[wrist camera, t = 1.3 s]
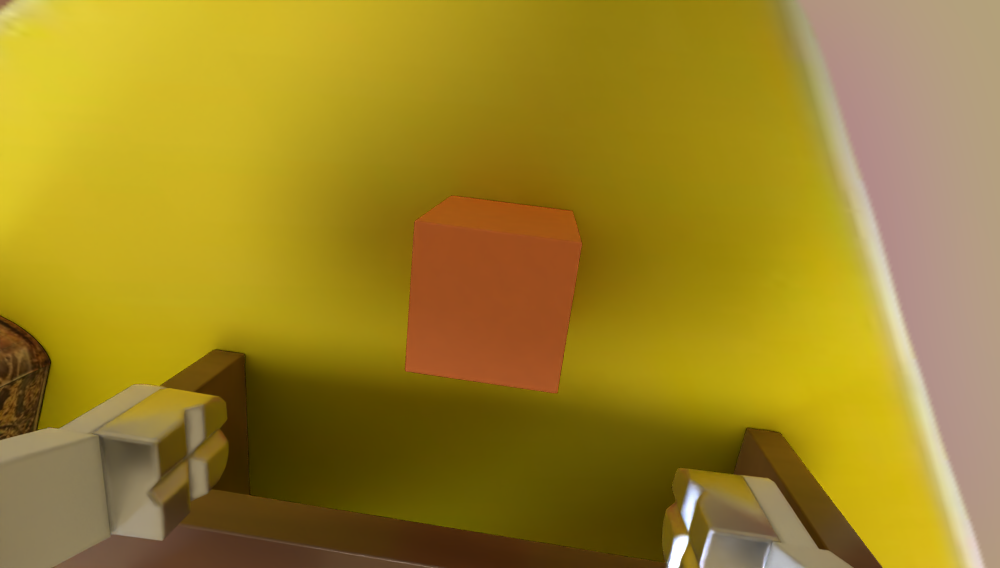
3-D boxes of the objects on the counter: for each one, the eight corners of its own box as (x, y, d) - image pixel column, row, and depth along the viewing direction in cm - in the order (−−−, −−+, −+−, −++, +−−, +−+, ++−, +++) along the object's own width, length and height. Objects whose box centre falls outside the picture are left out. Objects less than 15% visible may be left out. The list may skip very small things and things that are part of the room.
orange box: (450, 195, 21) (413, 220, 15) (573, 210, 21) (582, 242, 15) (441, 309, 22) (404, 371, 17) (555, 325, 22) (557, 394, 16)
